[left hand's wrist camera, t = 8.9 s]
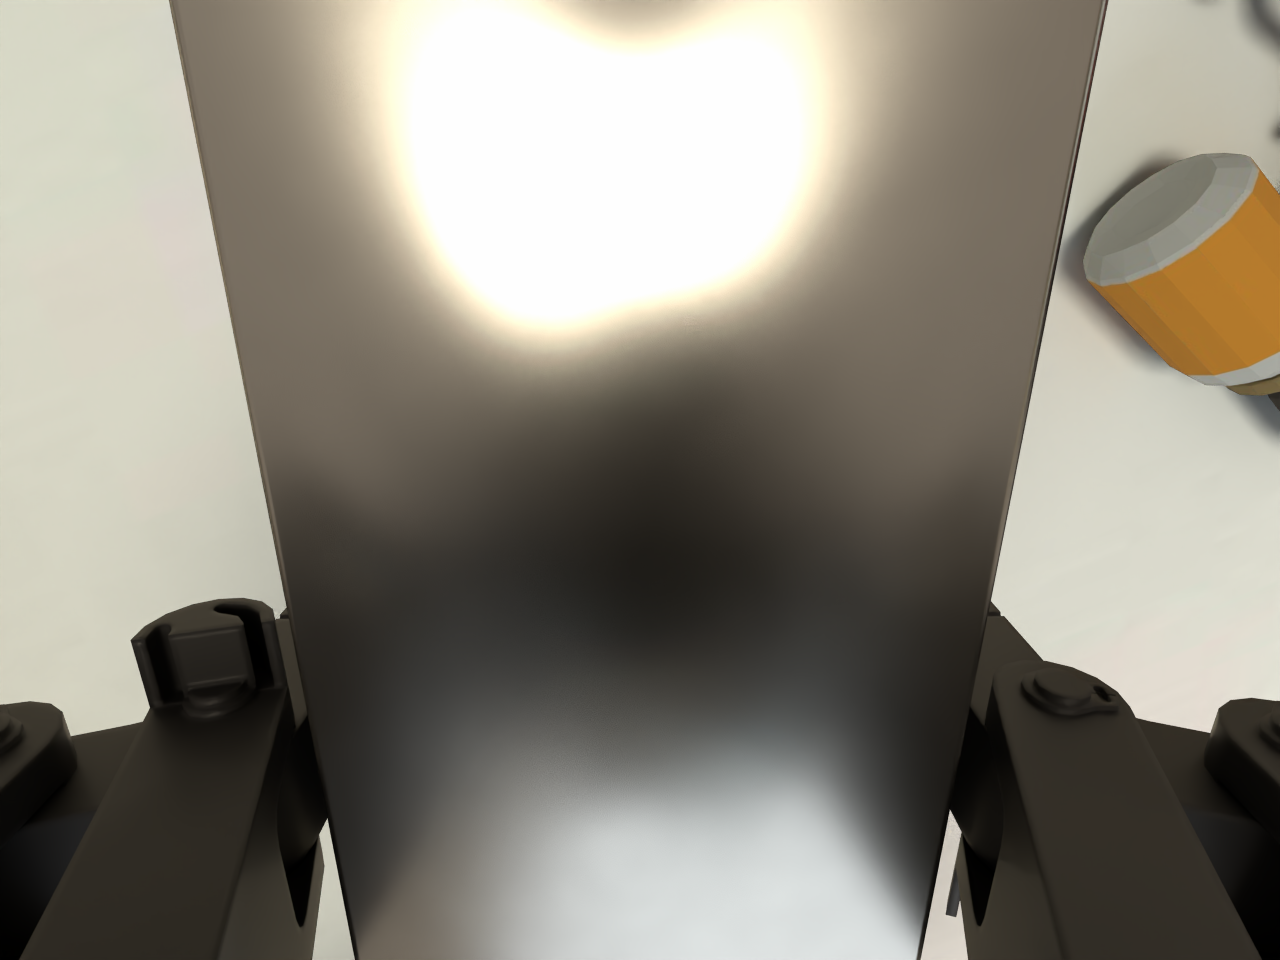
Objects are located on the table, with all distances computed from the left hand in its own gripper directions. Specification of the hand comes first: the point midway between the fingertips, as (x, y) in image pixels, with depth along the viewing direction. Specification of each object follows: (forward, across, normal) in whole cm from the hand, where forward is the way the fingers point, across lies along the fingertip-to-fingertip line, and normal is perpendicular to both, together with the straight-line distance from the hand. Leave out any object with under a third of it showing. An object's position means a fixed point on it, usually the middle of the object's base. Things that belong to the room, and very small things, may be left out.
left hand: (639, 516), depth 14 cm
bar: (+1, 0, -13) cm, 13 cm away
